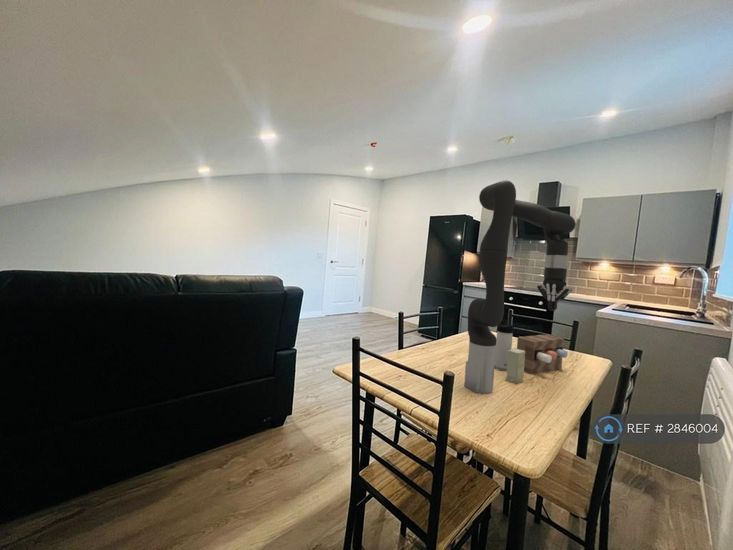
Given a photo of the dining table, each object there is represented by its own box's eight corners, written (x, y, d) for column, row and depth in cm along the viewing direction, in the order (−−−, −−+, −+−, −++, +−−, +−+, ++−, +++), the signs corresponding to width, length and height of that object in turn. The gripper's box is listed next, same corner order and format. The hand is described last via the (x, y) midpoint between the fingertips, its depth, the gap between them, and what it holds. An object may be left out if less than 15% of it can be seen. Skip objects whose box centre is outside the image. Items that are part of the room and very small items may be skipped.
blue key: (562, 358, 127) (563, 351, 127) (552, 355, 131) (553, 348, 131) (567, 357, 128) (567, 350, 128) (557, 354, 132) (557, 347, 132)
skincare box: (516, 384, 113) (519, 353, 112) (505, 380, 116) (507, 350, 115) (523, 380, 117) (526, 350, 116) (512, 376, 120) (514, 347, 119)
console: (531, 374, 124) (534, 342, 123) (515, 367, 131) (517, 337, 130) (561, 369, 132) (563, 338, 131) (544, 362, 139) (546, 334, 138)
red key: (552, 359, 124) (552, 352, 124) (542, 356, 128) (542, 349, 128) (557, 359, 125) (557, 351, 125) (547, 355, 129) (547, 348, 129)
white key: (546, 363, 119) (547, 355, 119) (536, 359, 123) (536, 352, 123) (551, 362, 121) (552, 355, 120) (541, 359, 125) (541, 351, 124)
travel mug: (509, 372, 124) (512, 326, 123) (492, 368, 128) (496, 324, 127) (512, 368, 129) (515, 324, 128) (496, 364, 133) (499, 322, 132)
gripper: (533, 266, 119) (530, 307, 120) (567, 267, 107) (563, 313, 108) (545, 266, 122) (542, 307, 123) (579, 268, 110) (575, 313, 111)
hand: (552, 310), depth 115 cm, fingers closed
